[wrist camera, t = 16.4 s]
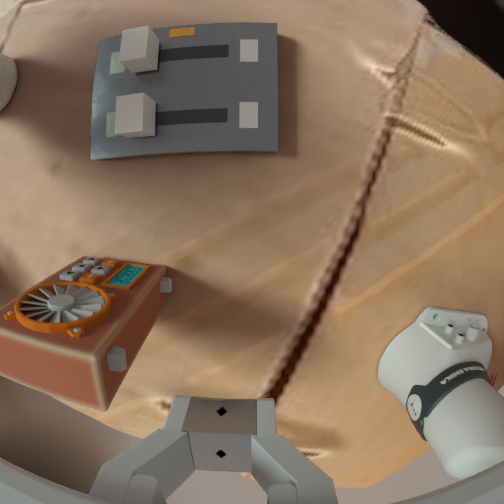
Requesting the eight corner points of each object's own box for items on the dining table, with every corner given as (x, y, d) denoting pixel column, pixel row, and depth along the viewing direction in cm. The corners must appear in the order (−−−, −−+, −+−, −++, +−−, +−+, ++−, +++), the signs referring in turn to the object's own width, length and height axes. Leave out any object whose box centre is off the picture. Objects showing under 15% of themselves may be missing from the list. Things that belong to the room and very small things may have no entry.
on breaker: (155, 101, 30) (143, 92, 26) (154, 135, 32) (142, 130, 27) (131, 104, 30) (116, 96, 26) (130, 138, 31) (114, 134, 27)
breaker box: (274, 33, 32) (277, 23, 29) (275, 152, 36) (278, 150, 33) (107, 47, 31) (98, 39, 28) (101, 160, 35) (90, 159, 32)
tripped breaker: (159, 40, 29) (148, 25, 24) (157, 69, 30) (145, 57, 25) (135, 43, 28) (122, 30, 24) (132, 72, 29) (118, 61, 25)
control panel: (75, 249, 38) (176, 261, 39) (78, 296, 40) (175, 311, 40) (-32, 311, 17) (111, 352, 18) (-12, 377, 19) (123, 424, 20)
